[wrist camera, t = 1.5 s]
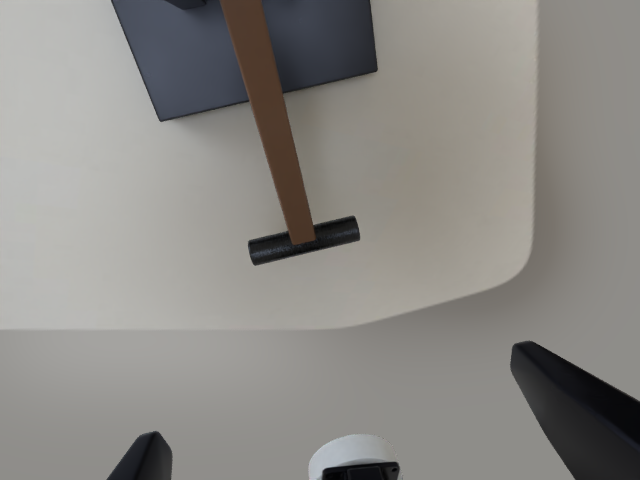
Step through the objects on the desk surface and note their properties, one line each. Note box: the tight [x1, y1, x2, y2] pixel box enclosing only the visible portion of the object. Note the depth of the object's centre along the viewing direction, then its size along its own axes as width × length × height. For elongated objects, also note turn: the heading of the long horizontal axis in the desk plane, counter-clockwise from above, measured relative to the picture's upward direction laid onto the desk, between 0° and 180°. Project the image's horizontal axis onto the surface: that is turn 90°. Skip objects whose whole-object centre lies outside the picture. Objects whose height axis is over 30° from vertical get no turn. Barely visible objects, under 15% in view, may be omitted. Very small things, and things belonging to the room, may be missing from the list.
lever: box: [220, 0, 360, 266], centre depth 12 cm, size 14×5×2 cm, turn 10°
